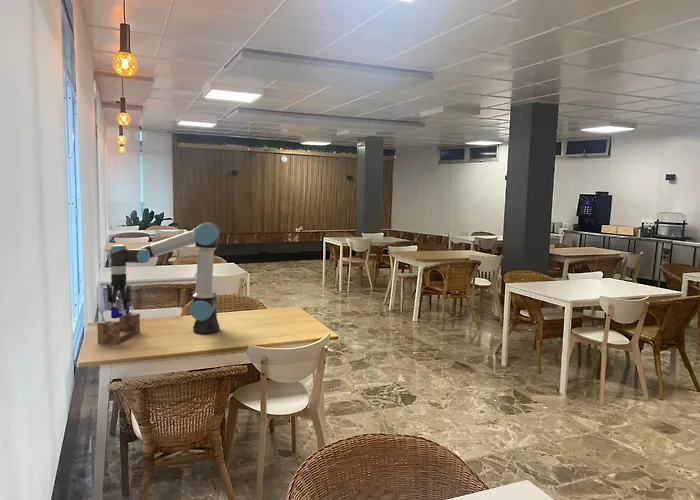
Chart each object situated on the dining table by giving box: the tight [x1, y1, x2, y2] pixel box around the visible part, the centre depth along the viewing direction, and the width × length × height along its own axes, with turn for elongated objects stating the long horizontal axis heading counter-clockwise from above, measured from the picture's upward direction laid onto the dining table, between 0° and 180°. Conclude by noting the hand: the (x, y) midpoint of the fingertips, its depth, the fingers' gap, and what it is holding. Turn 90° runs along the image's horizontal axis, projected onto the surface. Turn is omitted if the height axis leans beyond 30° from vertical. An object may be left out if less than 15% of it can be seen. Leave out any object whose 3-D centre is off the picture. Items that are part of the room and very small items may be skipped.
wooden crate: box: [97, 311, 141, 345], centre depth 278 cm, size 10×24×12 cm, turn 173°
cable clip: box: [110, 302, 130, 319], centre depth 277 cm, size 12×4×6 cm, turn 172°
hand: (119, 315), depth 278 cm, fingers closed on cable clip, 4 cm apart
